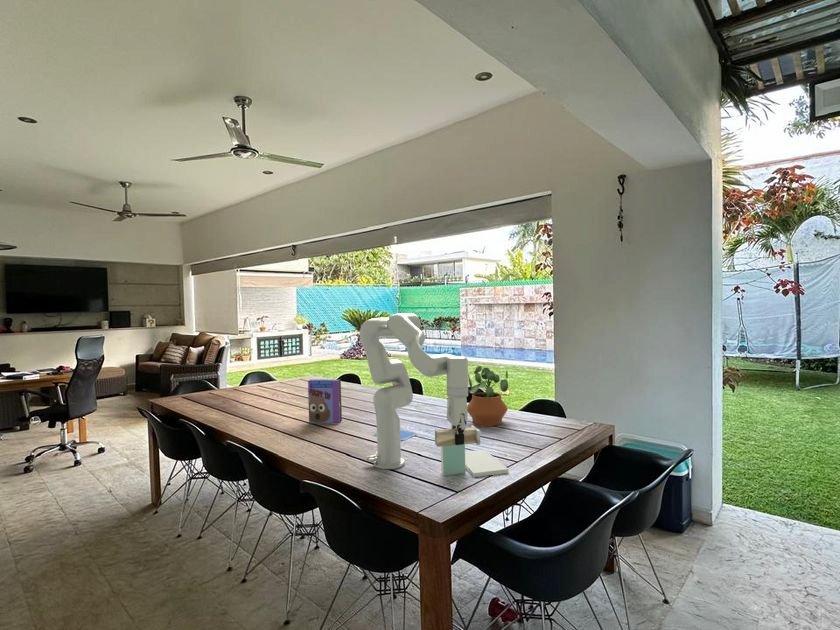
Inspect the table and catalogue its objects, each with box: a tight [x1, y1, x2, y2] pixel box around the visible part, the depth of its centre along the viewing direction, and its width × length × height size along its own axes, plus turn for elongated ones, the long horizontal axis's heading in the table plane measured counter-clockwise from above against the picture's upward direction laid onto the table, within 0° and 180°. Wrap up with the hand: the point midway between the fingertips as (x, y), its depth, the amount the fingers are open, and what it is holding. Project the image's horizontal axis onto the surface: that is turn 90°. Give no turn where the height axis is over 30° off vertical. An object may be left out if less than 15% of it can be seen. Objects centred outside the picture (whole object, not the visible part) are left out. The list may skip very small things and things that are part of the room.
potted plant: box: [467, 365, 509, 427], centre depth 240 cm, size 23×28×30 cm
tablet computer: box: [373, 429, 418, 441], centre depth 224 cm, size 19×13×1 cm, turn 54°
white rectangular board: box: [465, 448, 509, 478], centre depth 180 cm, size 14×24×2 cm, turn 14°
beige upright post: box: [434, 425, 481, 448], centre depth 158 cm, size 7×15×5 cm, turn 104°
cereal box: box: [307, 379, 343, 424], centre depth 250 cm, size 17×5×24 cm, turn 83°
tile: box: [440, 444, 467, 476], centre depth 171 cm, size 9×2×12 cm, turn 104°
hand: (457, 442), depth 158 cm, fingers closed on beige upright post, 3 cm apart
